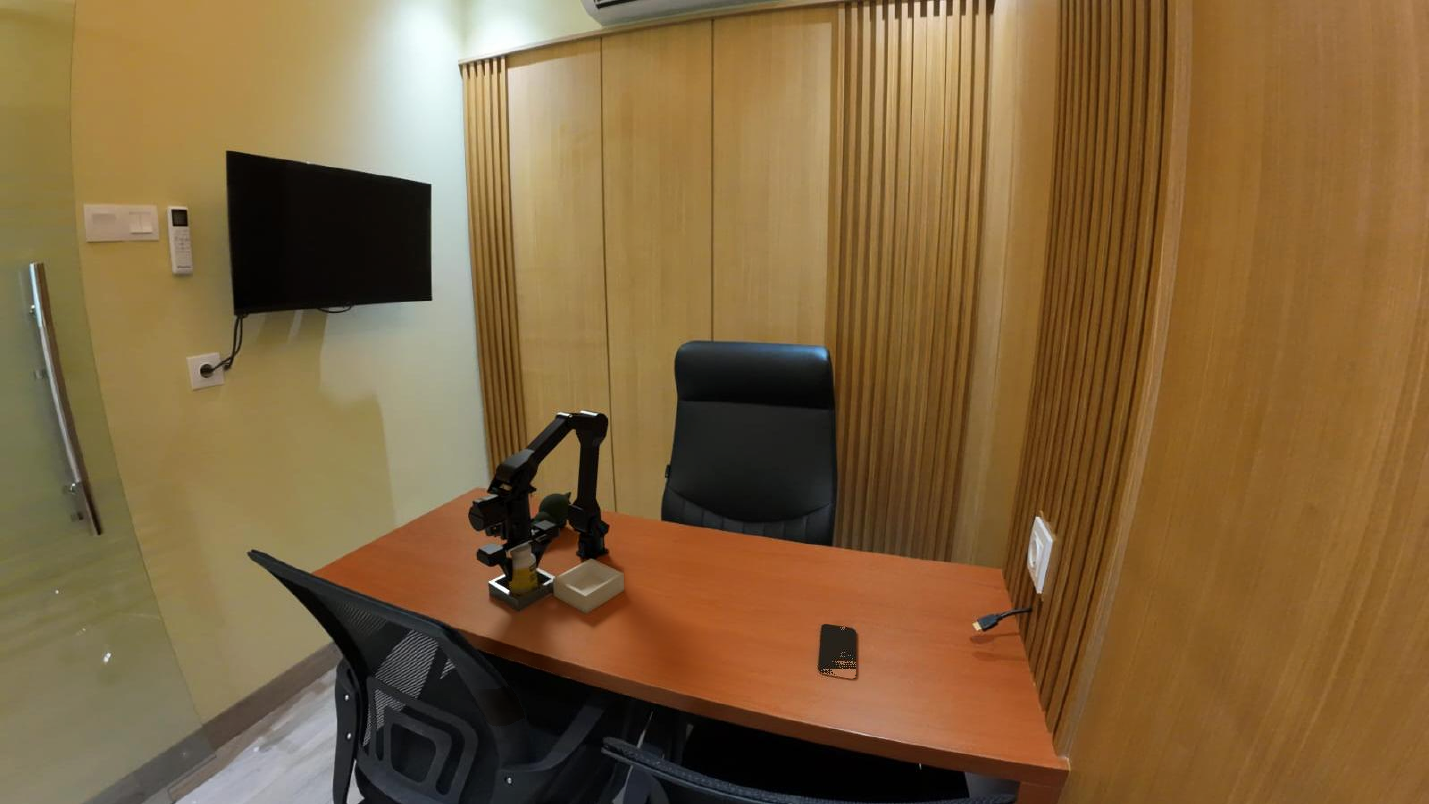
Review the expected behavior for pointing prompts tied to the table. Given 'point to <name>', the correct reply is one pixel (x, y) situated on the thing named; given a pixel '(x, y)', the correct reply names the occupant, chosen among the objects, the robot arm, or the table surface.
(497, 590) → the collar
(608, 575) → the bin
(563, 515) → the toy figurine
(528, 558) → the pill bottle
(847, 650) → the phone
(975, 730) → the table surface
